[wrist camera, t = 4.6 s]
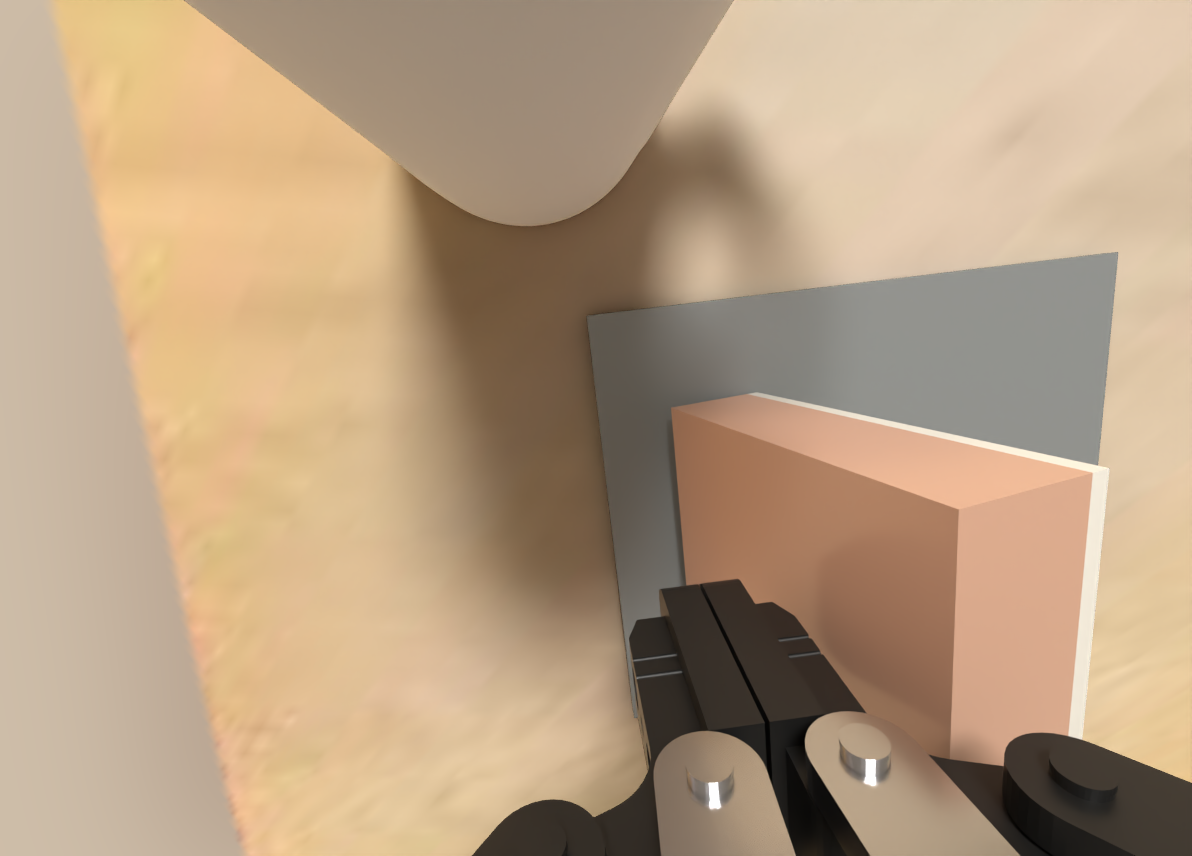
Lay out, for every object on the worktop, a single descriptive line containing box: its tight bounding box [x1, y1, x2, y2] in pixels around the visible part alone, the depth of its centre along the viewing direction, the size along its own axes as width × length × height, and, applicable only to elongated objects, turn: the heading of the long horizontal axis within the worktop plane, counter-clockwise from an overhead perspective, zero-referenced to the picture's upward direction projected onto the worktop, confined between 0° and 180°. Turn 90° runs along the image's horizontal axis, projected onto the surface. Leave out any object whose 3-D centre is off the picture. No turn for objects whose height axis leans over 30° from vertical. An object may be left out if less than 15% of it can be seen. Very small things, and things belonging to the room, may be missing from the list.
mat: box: [587, 252, 1118, 718], centre depth 16 cm, size 14×12×1 cm
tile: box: [671, 392, 1109, 766], centre depth 11 cm, size 2×7×8 cm, turn 6°
